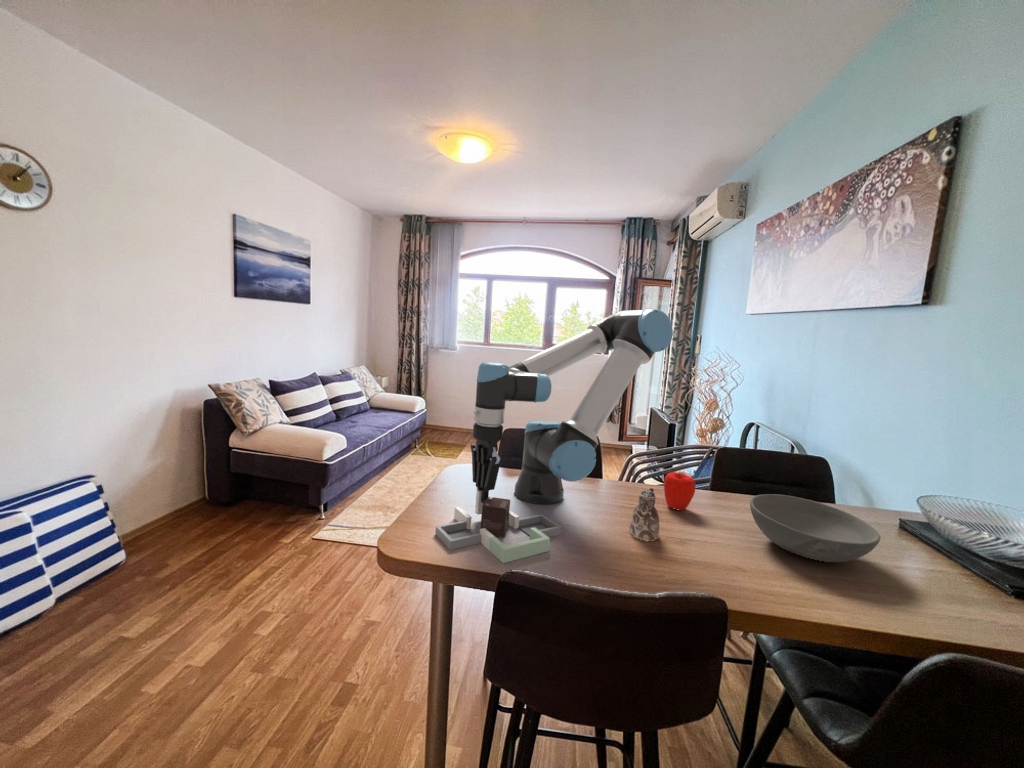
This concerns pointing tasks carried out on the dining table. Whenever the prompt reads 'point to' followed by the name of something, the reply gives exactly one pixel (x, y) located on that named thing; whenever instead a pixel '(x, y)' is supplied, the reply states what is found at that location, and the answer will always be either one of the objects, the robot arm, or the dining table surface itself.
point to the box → (495, 515)
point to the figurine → (645, 517)
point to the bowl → (812, 528)
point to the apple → (678, 490)
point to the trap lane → (461, 537)
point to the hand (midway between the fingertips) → (480, 512)
